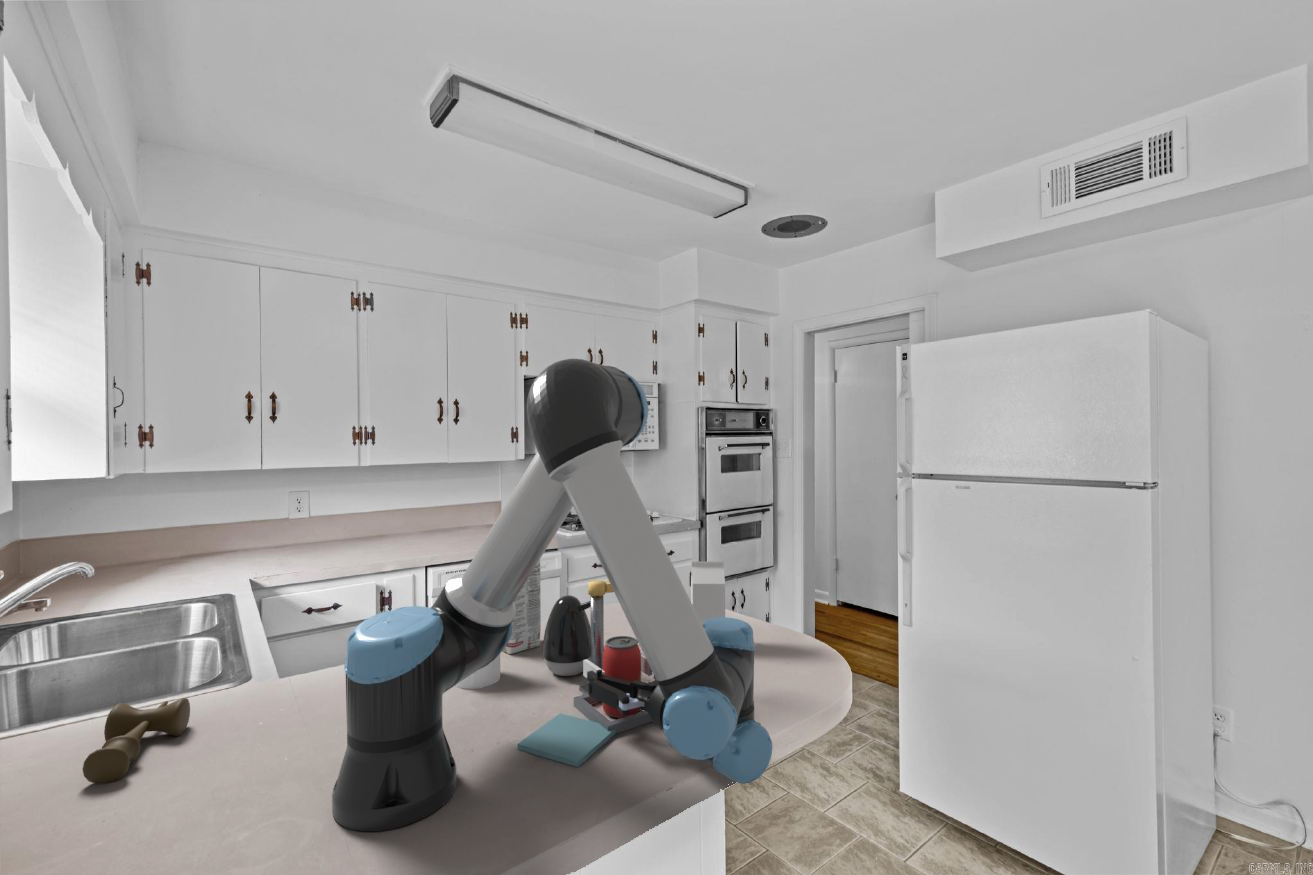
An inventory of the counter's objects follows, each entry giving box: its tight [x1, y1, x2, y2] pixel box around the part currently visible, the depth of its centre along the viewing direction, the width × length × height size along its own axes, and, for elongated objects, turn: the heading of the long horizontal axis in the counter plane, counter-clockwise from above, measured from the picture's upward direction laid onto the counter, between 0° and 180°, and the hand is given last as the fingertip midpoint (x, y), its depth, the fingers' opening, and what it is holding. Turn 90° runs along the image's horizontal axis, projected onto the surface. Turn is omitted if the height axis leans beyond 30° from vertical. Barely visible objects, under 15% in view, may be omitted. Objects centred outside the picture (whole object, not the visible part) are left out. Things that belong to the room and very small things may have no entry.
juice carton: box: [502, 559, 542, 655], centre depth 134 cm, size 9×8×24 cm
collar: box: [573, 693, 653, 734], centre depth 104 cm, size 12×12×2 cm
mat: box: [516, 713, 617, 768], centre depth 94 cm, size 11×11×1 cm
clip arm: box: [587, 580, 615, 596], centre depth 113 cm, size 16×3×4 cm, turn 107°
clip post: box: [578, 595, 605, 695], centre depth 111 cm, size 5×5×18 cm
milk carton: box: [690, 561, 726, 623], centre depth 134 cm, size 7×7×19 cm
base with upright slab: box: [454, 653, 501, 690], centre depth 117 cm, size 9×9×12 cm
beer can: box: [602, 635, 642, 719], centre depth 104 cm, size 7×7×12 cm
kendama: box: [82, 697, 191, 785], centre depth 92 cm, size 6×10×20 cm
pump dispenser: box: [542, 594, 591, 677], centre depth 121 cm, size 10×10×15 cm
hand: (608, 661), depth 107 cm, fingers open, 9 cm apart
